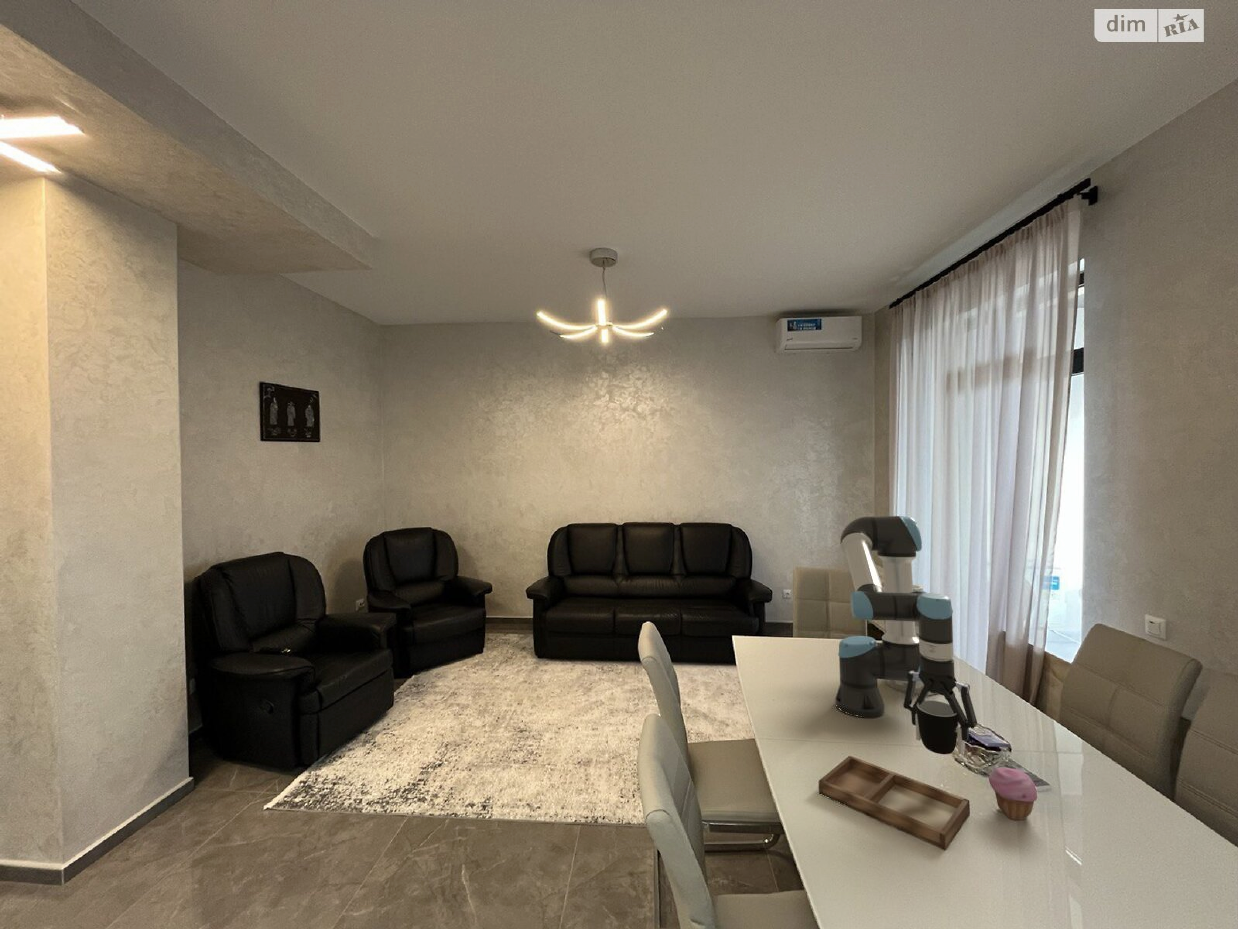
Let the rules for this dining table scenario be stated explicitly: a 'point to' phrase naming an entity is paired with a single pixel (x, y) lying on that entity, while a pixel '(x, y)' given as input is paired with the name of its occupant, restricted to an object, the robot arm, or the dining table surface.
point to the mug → (937, 726)
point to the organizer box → (897, 800)
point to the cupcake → (1013, 792)
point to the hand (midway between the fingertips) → (940, 745)
